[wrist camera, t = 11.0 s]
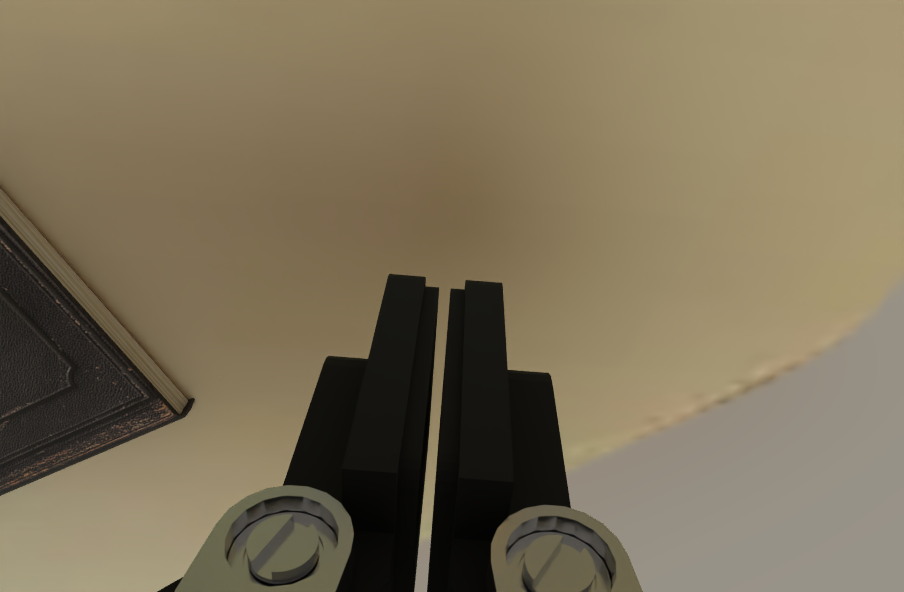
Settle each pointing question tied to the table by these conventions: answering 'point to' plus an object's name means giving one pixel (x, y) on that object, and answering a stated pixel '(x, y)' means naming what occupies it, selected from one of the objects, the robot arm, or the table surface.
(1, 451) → the hardcover book
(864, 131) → the table surface
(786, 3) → the table surface
